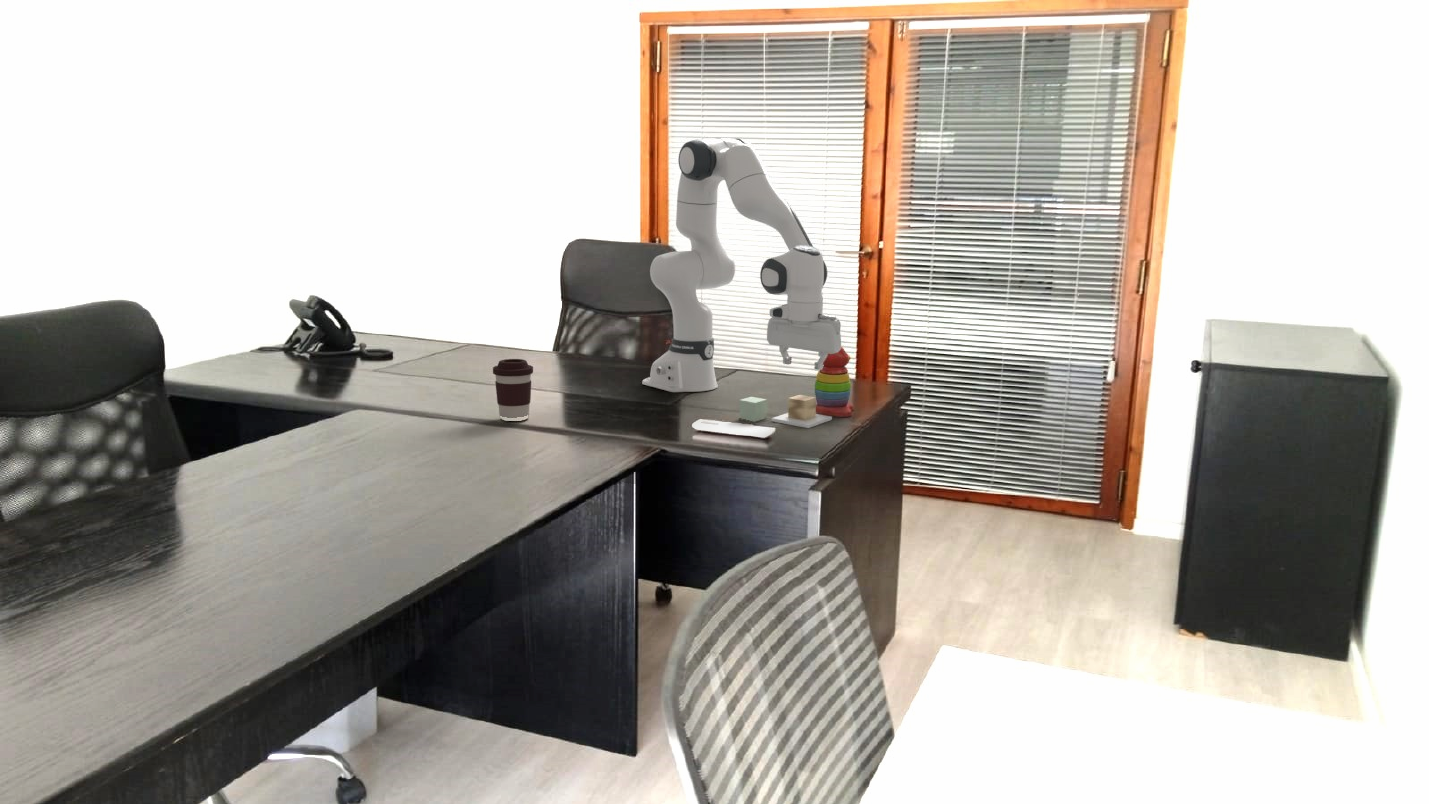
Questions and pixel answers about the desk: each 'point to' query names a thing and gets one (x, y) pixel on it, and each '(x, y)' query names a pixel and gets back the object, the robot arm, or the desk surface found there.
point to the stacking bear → (834, 386)
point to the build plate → (801, 423)
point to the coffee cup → (513, 387)
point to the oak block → (802, 407)
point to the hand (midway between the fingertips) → (802, 366)
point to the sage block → (753, 409)
